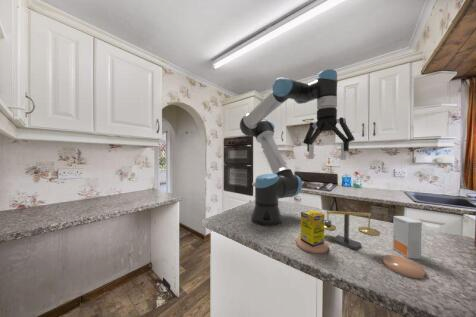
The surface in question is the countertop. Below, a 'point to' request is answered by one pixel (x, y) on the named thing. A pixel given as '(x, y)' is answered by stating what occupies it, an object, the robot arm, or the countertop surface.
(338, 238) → the balance
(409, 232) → the skincare box
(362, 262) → the countertop surface
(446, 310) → the countertop surface
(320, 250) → the peach round dome
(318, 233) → the supplement box
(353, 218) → the countertop surface
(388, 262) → the glossy peach dome
